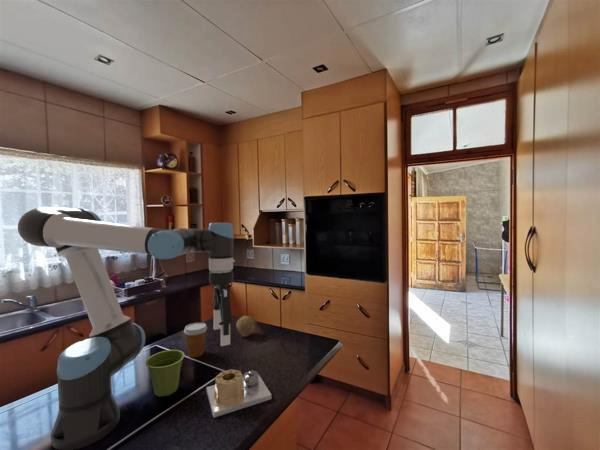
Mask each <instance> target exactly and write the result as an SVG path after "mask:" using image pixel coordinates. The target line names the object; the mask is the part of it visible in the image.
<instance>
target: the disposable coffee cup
mask: <svg viewBox="0 0 600 450" xmlns="http://www.w3.org/2000/svg"><path fill="white" fill-rule="evenodd" d="M207 329H208V326H207V324H206V323H205V322H193V323H189V324H187V325H185V327H184V330H183V333H184V334H185V335H184V336H185V342H186V343H185V344H186V348H187V353H188V357H190V358H198V357H202V355H204V353H205V345H206V335H207Z"/></svg>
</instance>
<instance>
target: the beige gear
mask: <svg viewBox="0 0 600 450" xmlns="http://www.w3.org/2000/svg"><path fill="white" fill-rule="evenodd" d="M243 377H244V374H243V373H242V371H241V370H237V369H228V370H224V371H221V372H219V373H218V374H217V375H216V376H215V377H214V380H215V381H214V382H215V384H214V385H215V387H216V390H215V392H214V397H215V398H216V402H217V403H219V402H220V403H225V405H229V403H232V402H235V401H236V402H238V401H239V400H240V397H241V396H242V395H244V389H243Z"/></svg>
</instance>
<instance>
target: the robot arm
mask: <svg viewBox="0 0 600 450" xmlns="http://www.w3.org/2000/svg"><path fill="white" fill-rule="evenodd" d="M233 227H234V226H233V224H232V223H230V222H209V224H208V227H207V228H183V227H181V228H174V229H167V228H166V229H165V228H155V227H146V226H141V225H139V226H138V225H131V224H122V223H114V222H106V221H102V220H101V217H99V215H97V214H96V213H95V212H94V211H91V210H89V209H85V208H81V207H71V208H70V207H52V206H41V207H36V208H33V209H30V210H29V211H27V212H25V213H24V214H23V215H22V216H21V217H20V218H19V221H18V224H17V232H18V234H19V236H20V237H21V238H22V240H23V241H25V242H26V243H28V244H30V245H32V246H36V247H47V248H55V250H56V253H57V255H58V256H61V257H64V258H65V259H66V262H67V265H68V267H69V270H70V272H71V275H72V277H73V279H74V282H75V286H76V287H77V290H78V293H79V295H80V298H81V300H82V303H83V305H84V308H85V311H86V314H87V316H88V319H89V321H90V323H91V326H92V329H91V331H90V333H89V335H88V336H89V338H85V339H83V340H80V341H77V342H75V343H72V344H71V345H69V346H68V347H66V348H65V349H64V350H62V352H61V354H60V355H59V356H58V359H57V367H56V375H57V376H56V377H57V392H58V393H57V394H58V412H57V416H56V418H55V421H54V424H53V427H52V430H51V434H50V443H51V444H50V445H51V447H52V446H53V447H54V448H56V449H62V450H71V449H72V450H73V449H75V450H79V449H82V448H86V447H87V446H89V445H91V444H94V443H95V442H98V441H99V440H102V439H103V438H105V437H106V436H108V434H110V433H111V432H112V431H113V430H115V428H116V427H117V425H118V424H119V422H120V417H121V414H120V413H121V412H120V408H119V404H118V403H117V401H116V399H115V397H114V394H113V393H112V392H113V391H112V390H113V389H112V377H113V376H114V375H116V374H117V373H118V372H119V371H121V370H122V369H124V367H125V366H127V365H128V364H129V363H131V362H132V361H134V360H135V359H136V357H138V356H139V355H140V354H141V352H142V351H143V349H144V347H145V344H146V334H145V331H144V329H143V328H142V327H141V326H140V325H138V324H137V323H135V322H132V318H131V317H130V316H127V315H125V314H124V313H123V311H122V307H121V306H120V303H119V301H118V298H117V295H116V292H115V290H114V287H113V284H112V282H111V279H110V277H109V274H108V271H107V269H106V266H105V264H104V261H103V258H102V255H101V253H100V251H99V250H105V251H106V250H107V251H113V252H124V253H130V254H139V255H147V256H148V255H149V256H153V257H154V258H155V259H158V260H171V259H174V258H176V257H180V256H183V255H186V254H189V253H208V270H209V273H208V282H209V284H210V285H213V296H212V306H213V307H212V308H213V331H215V330H220V346H221V347H224V346H225V347H226V346H229V345H231V325H232V323H233V319H232V309H231V299H230V298H231V297H230V294H231V293H230V292H231V290H230V289H229V288H228V286H227V285H228V284H232V283H234V271H233V269H234V263H235V262H236V259H234V238H235V237H234V228H233ZM53 447H52V448H53ZM54 448H53V449H54ZM56 449H55V450H56Z"/></svg>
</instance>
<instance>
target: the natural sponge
mask: <svg viewBox="0 0 600 450" xmlns="http://www.w3.org/2000/svg"><path fill="white" fill-rule="evenodd" d="M255 326H256V325H255V321H254V319H253V318H252V317H251V316H249V315H243V316H241V317H239V319H238V320H237V321H236V330H237V331H238V333H239V334H240V335H241V336H242V337H244V338H245V337H246V338H247V337H248V336H250V335H252V334H254V332H255V330H256V327H255Z"/></svg>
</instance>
